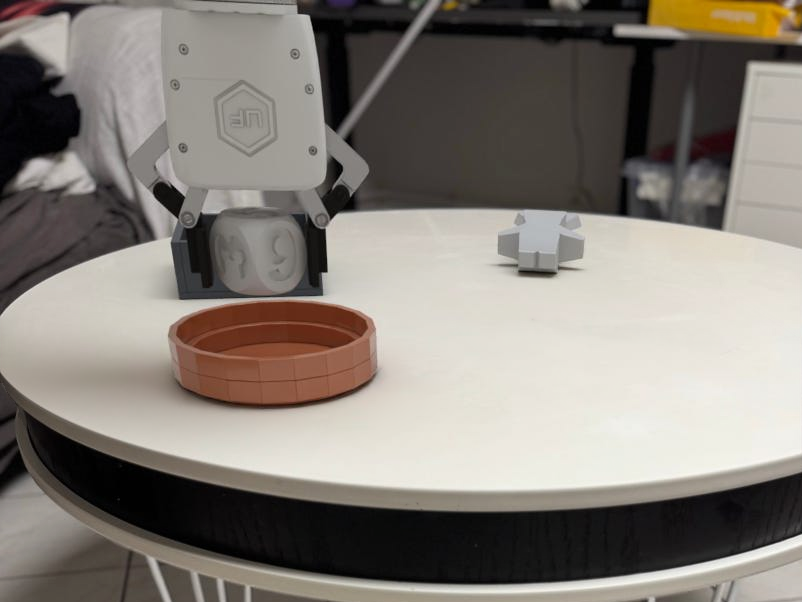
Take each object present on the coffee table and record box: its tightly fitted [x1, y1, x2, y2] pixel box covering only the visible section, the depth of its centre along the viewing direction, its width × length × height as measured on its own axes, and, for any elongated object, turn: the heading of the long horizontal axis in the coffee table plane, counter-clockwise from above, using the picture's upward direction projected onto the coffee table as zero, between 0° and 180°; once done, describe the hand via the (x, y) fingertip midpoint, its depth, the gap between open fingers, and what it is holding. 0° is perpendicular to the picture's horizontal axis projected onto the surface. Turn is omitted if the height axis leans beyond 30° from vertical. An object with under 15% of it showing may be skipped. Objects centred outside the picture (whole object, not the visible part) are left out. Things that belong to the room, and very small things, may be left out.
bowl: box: [167, 299, 379, 406], centre depth 69 cm, size 15×15×4 cm
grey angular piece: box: [497, 209, 586, 274], centre depth 101 cm, size 10×5×15 cm
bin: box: [170, 211, 324, 300], centre depth 92 cm, size 14×14×5 cm
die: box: [209, 205, 307, 295], centre depth 65 cm, size 5×5×5 cm
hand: (261, 281), depth 66 cm, fingers closed on die, 7 cm apart
